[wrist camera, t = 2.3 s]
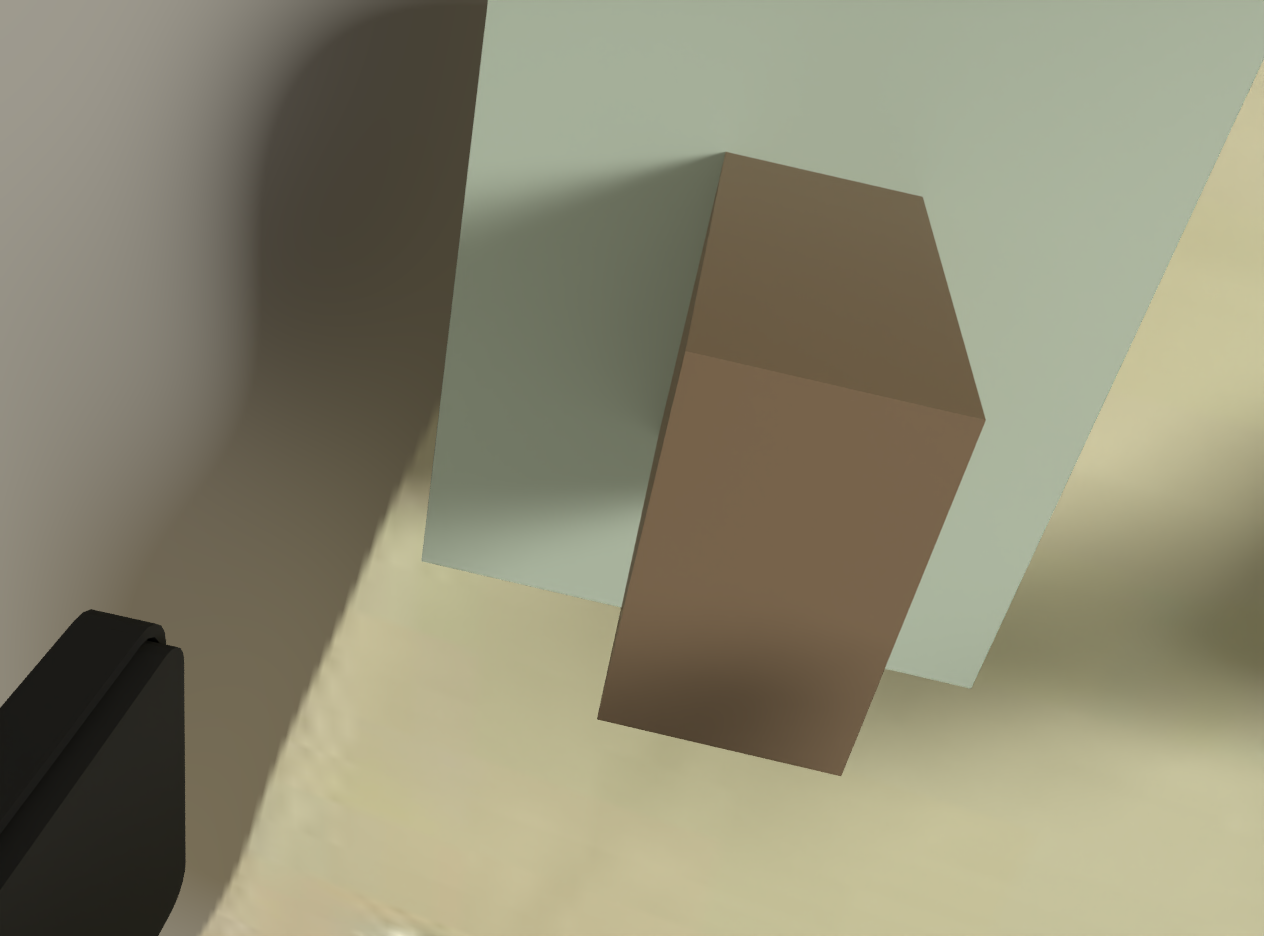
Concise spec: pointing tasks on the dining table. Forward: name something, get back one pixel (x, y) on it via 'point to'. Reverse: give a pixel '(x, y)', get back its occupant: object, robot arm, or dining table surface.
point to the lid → (805, 323)
